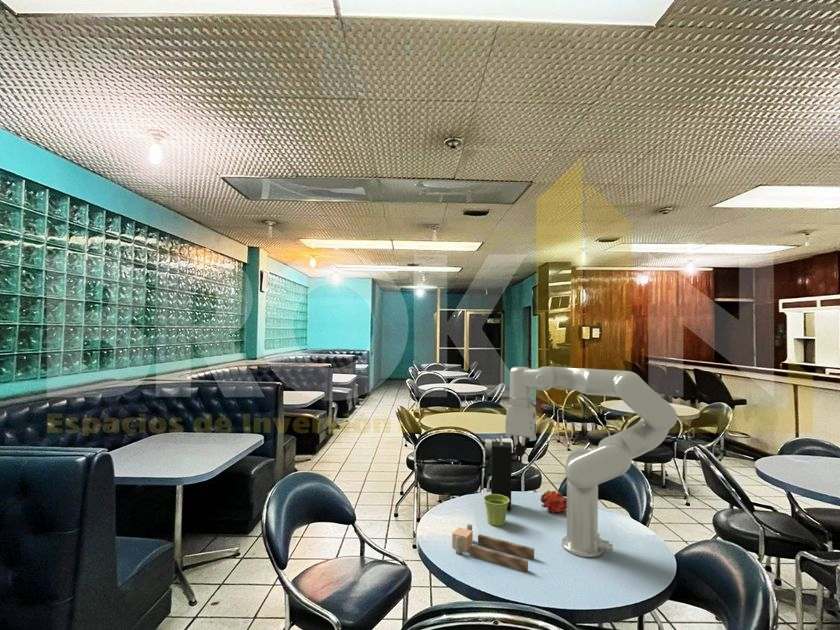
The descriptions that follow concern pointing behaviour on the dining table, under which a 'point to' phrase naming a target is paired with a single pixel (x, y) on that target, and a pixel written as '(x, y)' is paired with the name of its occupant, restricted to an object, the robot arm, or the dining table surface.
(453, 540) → the block
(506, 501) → the plant pot
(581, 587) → the dining table surface
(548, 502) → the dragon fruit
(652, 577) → the dining table surface
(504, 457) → the tall black pillar
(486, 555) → the chute
